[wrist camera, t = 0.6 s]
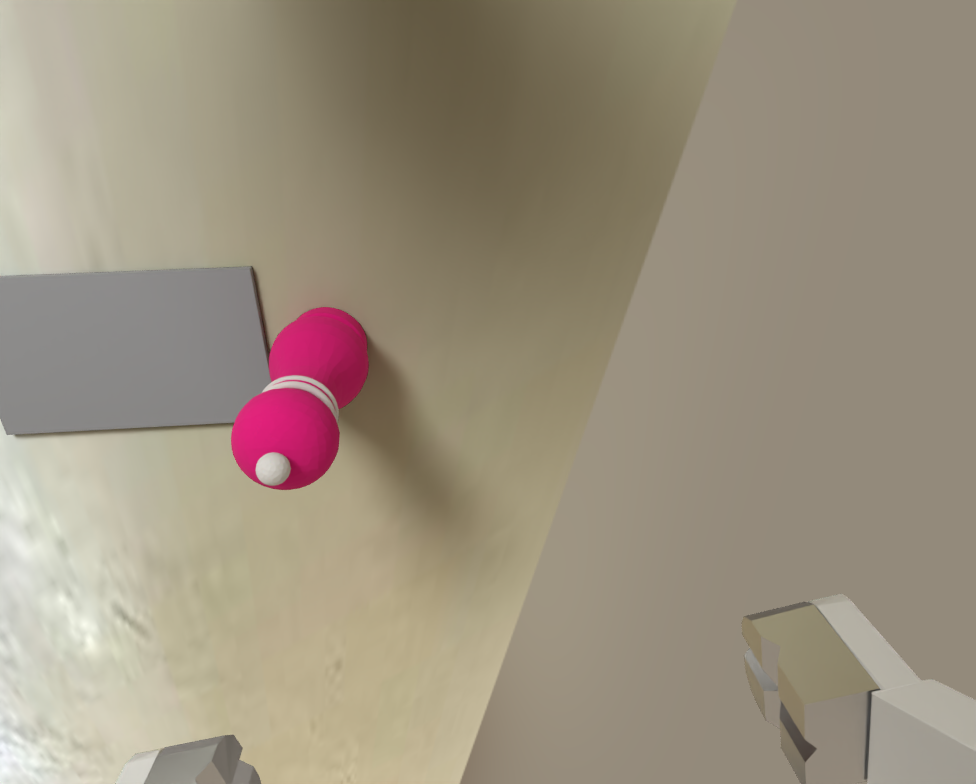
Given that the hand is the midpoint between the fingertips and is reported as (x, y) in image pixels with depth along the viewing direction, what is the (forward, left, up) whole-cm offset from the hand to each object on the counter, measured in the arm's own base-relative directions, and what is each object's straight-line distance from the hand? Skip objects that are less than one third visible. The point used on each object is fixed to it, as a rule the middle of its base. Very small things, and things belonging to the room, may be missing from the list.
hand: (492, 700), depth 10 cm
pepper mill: (+5, -12, -41) cm, 43 cm away
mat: (-1, -27, -41) cm, 49 cm away
